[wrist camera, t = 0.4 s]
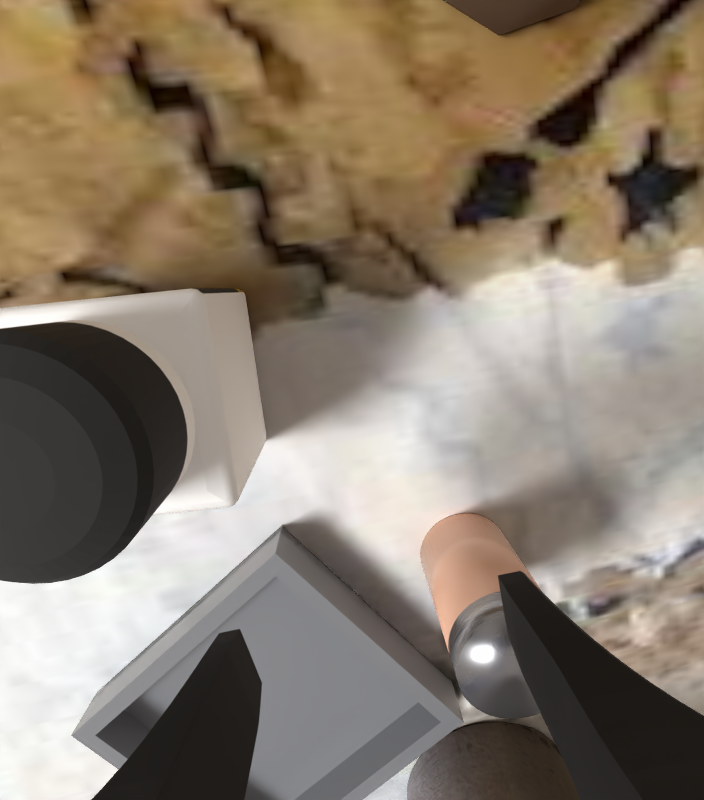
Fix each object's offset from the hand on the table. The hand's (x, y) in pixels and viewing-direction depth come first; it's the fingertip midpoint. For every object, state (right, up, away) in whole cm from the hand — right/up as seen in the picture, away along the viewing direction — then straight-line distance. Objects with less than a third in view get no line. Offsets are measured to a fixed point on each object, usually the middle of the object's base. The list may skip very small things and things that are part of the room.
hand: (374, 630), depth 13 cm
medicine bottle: (-8, +7, +9) cm, 14 cm away
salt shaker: (+5, -2, +11) cm, 12 cm away
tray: (-5, -9, +13) cm, 16 cm away
